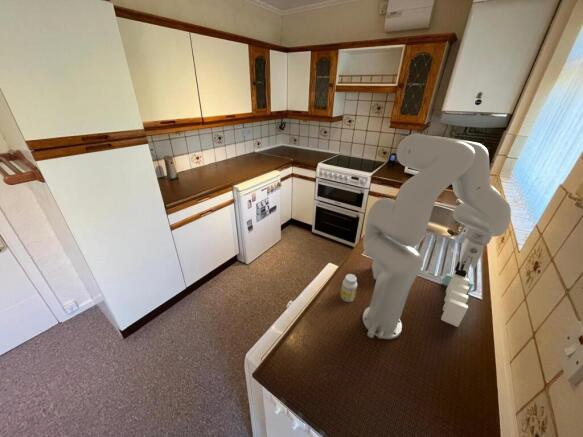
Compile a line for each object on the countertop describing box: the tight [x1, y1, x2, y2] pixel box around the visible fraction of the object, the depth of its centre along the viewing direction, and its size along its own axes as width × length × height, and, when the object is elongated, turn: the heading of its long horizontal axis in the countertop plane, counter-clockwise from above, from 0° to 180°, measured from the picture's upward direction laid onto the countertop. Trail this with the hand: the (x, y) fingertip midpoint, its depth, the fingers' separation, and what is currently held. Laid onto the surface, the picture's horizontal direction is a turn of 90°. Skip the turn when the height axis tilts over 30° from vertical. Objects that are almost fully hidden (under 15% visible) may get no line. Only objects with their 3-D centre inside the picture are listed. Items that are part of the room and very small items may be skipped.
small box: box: [371, 260, 386, 280], centre depth 100 cm, size 8×6×10 cm
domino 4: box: [440, 298, 469, 328], centre depth 79 cm, size 2×5×9 cm, turn 55°
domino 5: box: [442, 272, 474, 294], centre depth 94 cm, size 2×5×9 cm
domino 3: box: [442, 289, 469, 312], centre depth 83 cm, size 2×5×9 cm, turn 55°
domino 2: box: [443, 281, 469, 303], centre depth 86 cm, size 2×5×9 cm, turn 55°
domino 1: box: [445, 273, 470, 294], centre depth 90 cm, size 2×5×9 cm, turn 55°
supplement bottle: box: [340, 273, 358, 303], centre depth 88 cm, size 5×5×10 cm
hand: (459, 274), depth 92 cm, fingers open, 4 cm apart
